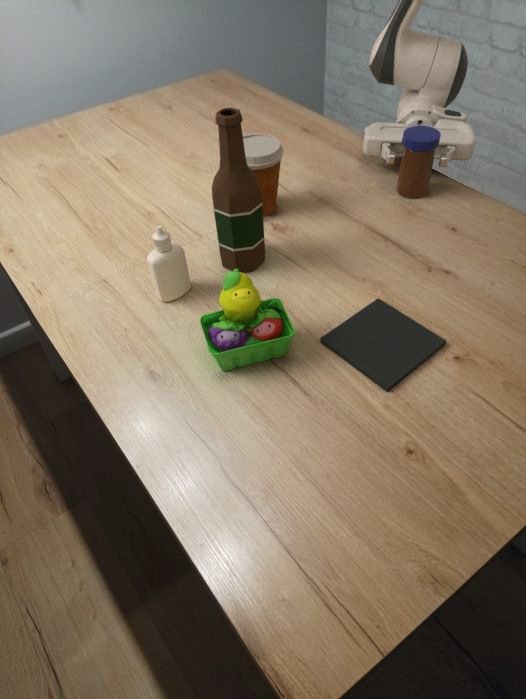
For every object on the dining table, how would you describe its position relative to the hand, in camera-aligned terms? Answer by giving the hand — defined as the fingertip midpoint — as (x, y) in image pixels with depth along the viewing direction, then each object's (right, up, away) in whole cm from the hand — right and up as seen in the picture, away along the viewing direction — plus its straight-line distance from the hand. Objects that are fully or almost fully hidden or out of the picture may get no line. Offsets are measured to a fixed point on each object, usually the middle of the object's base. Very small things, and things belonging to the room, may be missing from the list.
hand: (417, 161), depth 93 cm
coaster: (-12, -33, -22) cm, 41 cm away
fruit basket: (-30, -34, -21) cm, 50 cm away
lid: (0, +3, -4) cm, 5 cm away
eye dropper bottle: (-42, -25, -13) cm, 50 cm away
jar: (0, -4, +4) cm, 5 cm away
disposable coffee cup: (-29, -8, +2) cm, 30 cm away
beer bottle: (-31, -19, -8) cm, 37 cm away
